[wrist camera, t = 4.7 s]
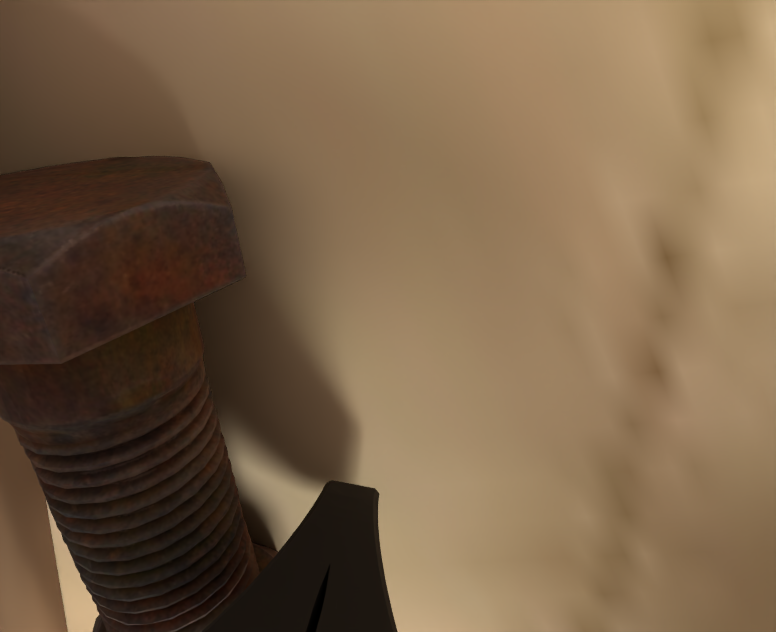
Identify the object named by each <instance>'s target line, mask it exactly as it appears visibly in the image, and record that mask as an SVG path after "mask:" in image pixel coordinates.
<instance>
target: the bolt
mask: <svg viewBox="0 0 776 632" xmlns="http://www.w3.org/2000/svg"><path fill="white" fill-rule="evenodd" d="M245 277H246V272H245V267H244V263H243V258H242V253H241V249H240V244H239V240H238V235H237V230H236V226H235V221H234V217H233V212H232V208H231V205H230V202H229V200H228V197H227V194H226V192H225V189H224V187H223V184H222V182H221V180H220V179H219V177H218V175H217V173H216V172H215V170H214V168H213V167H212V165H211V164H210V163H209V162H204V161H199V160H193V159H187V158H182V157H165V156H147V157H117V158H108V159H100V160H93V161H85V162H77V163H70V164H62V165H55V166H49V167H43V168H38V169H32V170H27V171H21V172H15V173H10V174H4V175H0V417H1V418H2V419H3V420H4V421H6V422H8V423H9V424H10V425H11V426H12V427H13V428H14V429H15V432H16V435H17V438H18V440H19V443H20V445H21V446H23V448H24V451H25V454H26V456H27V457H28V458H29V459H30V461H31V464H32V467H33V470H34V471H35V473H36V475H37V478H38V481H39V485H40V486H41V487H42V490H43V492H44V495H45V497H46V500H47V502H48V505H49V508H50V511H51V513H52V515H53V517H54V520H55V521H56V525H57V528H58V529H59V530H60V531H61V533H62V537H63V541H64V542H65V543H66V544H67V546H68V549H69V551H70V554H71V556H72V558H73V560H74V563H75V566H76V568H77V569H78V571H79V573H80V577H81V579H82V581H83V583H84V584H85V585H86V589H87V590H88V591H89V593H90V594H91V595H92V600H93V601H94V602H95V604H96V605H97V611H98V612H99V614H100V615H99V616H98V617H97V618H96V621H95V624H94V628H93V632H201V631H203V630H204V629H205V628H206V627H207V626H208V625H209V624H210V623H212V622H213V621H214V620H215V619H216V618H217V617H218V616H219V615H220V614H221V613H222V612H223V611H224V610H225V609H226V608H227V607H228V606H229V605H230V604H231V603H232V602H233V601H234V600H235V599H236V598H237V597H238V596H239V595H240V594H241V593H242V592H243V591H244V590H245V589H246V588H247V587H248V586H249V585H250V584H251V583H252V582H253V581H254V579H255V578H256V577H257V576H258V575H259V574H260V573H261V572H262V570H263V569H264V568H265V567H266V566H267V565H268V564H269V562H270V561H271V560H272V559H273V558H274V557H275V556H276V554H277V553H278V552H277V551H276V550H273V549H271V548H268V547H265V546H261V545H258V544H255V543H252V542H251V538H250V535H249V533H248V531H247V525H246V522H245V520H244V518H243V514H242V507H241V505H240V501H239V495H238V490H237V487H236V484H235V478H234V475H233V473H232V468H231V463H230V460H229V458H228V451H227V448H226V446H225V440H224V437H223V435H222V433H221V428H220V422H219V419H218V418H217V410H216V408H215V406H214V404H213V401H212V392H211V389H210V387H209V380H208V377H207V376H206V374H205V366H204V362H203V358H202V357H203V353H204V342H203V338H202V334H201V330H200V326H199V322H198V318H197V314H196V310H195V306H194V301H197V300H199V299H201V298H203V297H205V296H207V295H209V294H211V293H214V292H216V291H218V290H220V289H222V288H224V287H226V286H228V285H230V284H233V283H235V282H237V281H239V280H241V279H243V278H245Z"/></svg>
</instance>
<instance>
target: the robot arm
mask: <svg viewBox="0 0 776 632" xmlns="http://www.w3.org/2000/svg"><path fill="white" fill-rule="evenodd" d="M378 499H379V493H378V492H377V490H376V489H375V488H370V487H364V486H359V485H354V484H349V483H344V482H338V481H333V480H331V481H329V482H328V483H326V484H325V486H324V488H323V490H322V492H321V494H320V495H319V497H318V499H317V500H316V502H315V504H314V505H313V507H312V508H311V510H310V511H309V513H308V514H307V515H306V517H305V518H304V520H303V521H302V522H301V524H300V525H299V527H298V528H297V529H296V530H295V532H294V533H293V534H292V536H291V537H290V538H289V539H288V541H287V542H286V543H285V544H284V546H283V547H282V548H281V550H280V551H279V552H278V553H277V554H276V556H275V557H274V558H273V559H272V560H271V561H270V562H269V564H268V565H267V566H266V567H265V568H264V569H263V570H262V572H261V573H260V574H259V575H258V576H257V577H256V578H255V579H254V581H253V582H252V583H251V584H250V585H249V586H248V587H247V588H246V589H245V590H244V591H243V592H242V593H241V594H240V595H239V596H238V597H237V598H236V599H235V600H234V601H233V602H232V603H231V604H230V605H229V606H228V607H227V608H226V609H225V610H224V611H223V612H222V613H221V614H220V615H219V616H218V617H217V618H216V619H215V620H214V621H213V622H212V623H210V624H209V625H208V626H207V627H206V628H205V629H204V630H203V631H201V632H397V628H396V625H395V621H394V617H393V613H392V608H391V604H390V600H389V595H388V591H387V586H386V581H385V575H384V569H383V563H382V556H381V550H380V541H379V530H378Z"/></svg>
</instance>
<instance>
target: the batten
mask: <svg viewBox="0 0 776 632" xmlns="http://www.w3.org/2000/svg"><path fill="white" fill-rule="evenodd" d="M0 632H67V626H66V620H65V614H64V608H63V602H62V596H61V590H60V584H59V578H58V572H57V566H56V560H55V554H54V548H53V542H52V536H51V530H50V524H49V518H48V512H47V506H46V500H45V495H44V492H43V490H42V487H41V486H40V485H39V481H38V478H37V475H36V473H35V471H34V470H33V467H32V464H31V461H30V459H29V458H28V457H27V456H26V454H25V451H24V448H23V446H21V445H20V443H19V440H18V438H17V435H16V432H15V429H14V428H13V427H12V426H11V425H10V424H9V423H8V422H6V421H4V420H3V419H2V418H1V417H0Z"/></svg>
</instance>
